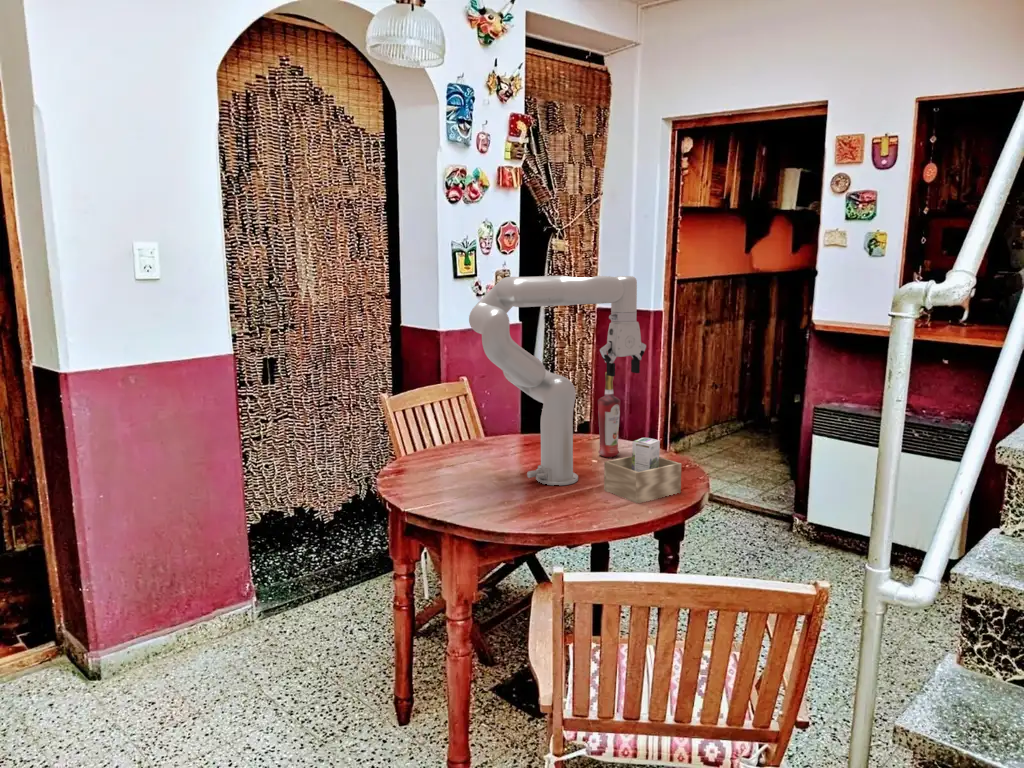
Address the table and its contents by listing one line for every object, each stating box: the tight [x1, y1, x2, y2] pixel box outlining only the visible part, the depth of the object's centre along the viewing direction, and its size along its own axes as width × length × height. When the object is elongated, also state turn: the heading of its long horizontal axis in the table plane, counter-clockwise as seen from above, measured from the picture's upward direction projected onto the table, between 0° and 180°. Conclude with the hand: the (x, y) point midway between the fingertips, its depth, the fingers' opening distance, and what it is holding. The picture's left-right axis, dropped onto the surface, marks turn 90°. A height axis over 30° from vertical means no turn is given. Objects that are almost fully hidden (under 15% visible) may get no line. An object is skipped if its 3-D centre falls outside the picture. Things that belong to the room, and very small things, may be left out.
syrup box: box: [631, 437, 661, 472], centre depth 211 cm, size 6×6×14 cm
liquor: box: [597, 371, 621, 458], centre depth 246 cm, size 7×7×28 cm
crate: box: [603, 455, 682, 504], centre depth 209 cm, size 16×14×8 cm
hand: (623, 374), depth 225 cm, fingers open, 9 cm apart
